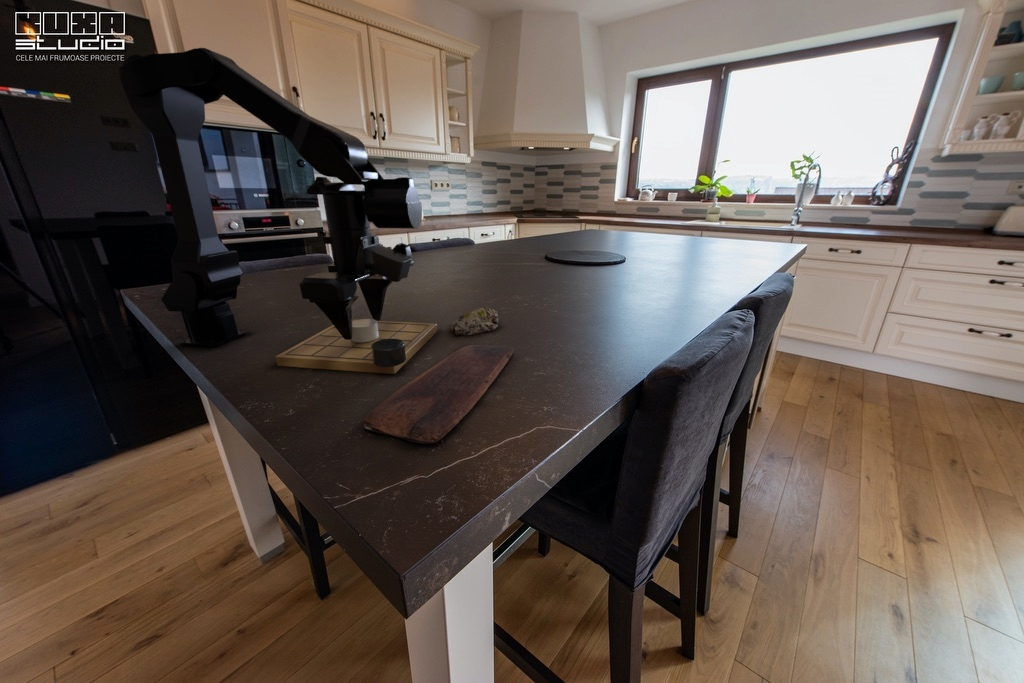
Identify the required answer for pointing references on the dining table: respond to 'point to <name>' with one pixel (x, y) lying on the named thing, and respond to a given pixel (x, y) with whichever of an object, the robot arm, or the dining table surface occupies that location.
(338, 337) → the game board
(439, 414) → the wooden tablet
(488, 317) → the mineral rock
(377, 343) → the black stone
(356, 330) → the cream stone
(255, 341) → the dining table surface
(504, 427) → the dining table surface
